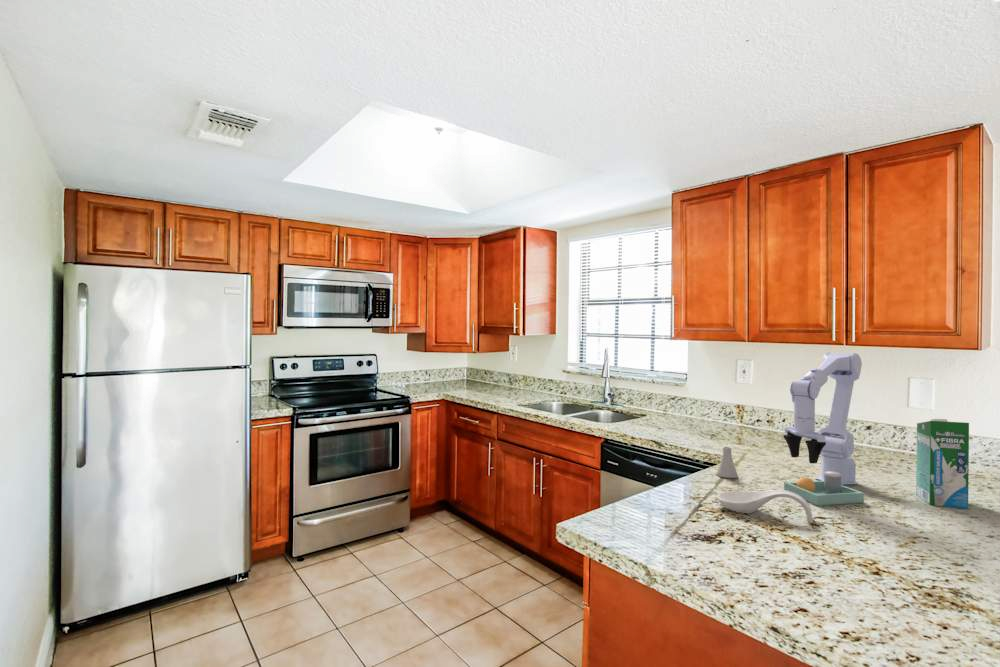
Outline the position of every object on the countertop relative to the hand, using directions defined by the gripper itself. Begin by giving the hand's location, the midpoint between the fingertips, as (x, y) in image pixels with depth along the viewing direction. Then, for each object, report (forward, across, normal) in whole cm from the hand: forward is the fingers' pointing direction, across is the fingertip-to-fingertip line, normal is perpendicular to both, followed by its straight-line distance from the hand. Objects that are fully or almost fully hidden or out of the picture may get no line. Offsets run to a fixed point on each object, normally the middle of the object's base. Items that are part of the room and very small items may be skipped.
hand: (803, 460), depth 160 cm
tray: (+10, +6, +1) cm, 12 cm away
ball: (+7, +4, -2) cm, 8 cm away
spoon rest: (+10, +16, -27) cm, 33 cm away
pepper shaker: (+10, +6, +5) cm, 12 cm away
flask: (+10, -19, -14) cm, 26 cm away
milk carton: (+10, +16, +33) cm, 38 cm away
